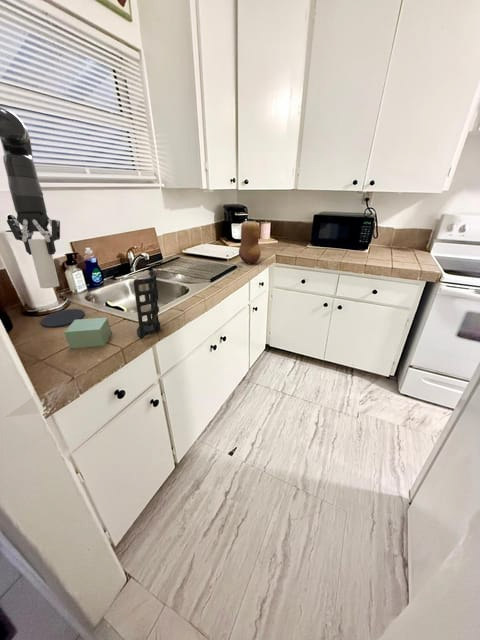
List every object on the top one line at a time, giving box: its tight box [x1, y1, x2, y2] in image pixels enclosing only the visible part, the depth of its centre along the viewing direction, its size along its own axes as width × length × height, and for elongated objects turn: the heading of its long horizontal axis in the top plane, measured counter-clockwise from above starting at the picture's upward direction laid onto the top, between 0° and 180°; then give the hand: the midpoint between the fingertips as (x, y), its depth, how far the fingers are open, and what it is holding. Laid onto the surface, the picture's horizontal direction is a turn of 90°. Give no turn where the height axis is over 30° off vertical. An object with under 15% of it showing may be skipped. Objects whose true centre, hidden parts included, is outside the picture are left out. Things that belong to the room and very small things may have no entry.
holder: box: [133, 270, 161, 339], centre depth 85 cm, size 11×8×20 cm
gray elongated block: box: [28, 238, 60, 289], centre depth 83 cm, size 5×14×14 cm
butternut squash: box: [238, 220, 262, 265], centre depth 158 cm, size 14×13×25 cm
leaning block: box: [63, 317, 113, 350], centre depth 82 cm, size 10×8×6 cm
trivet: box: [40, 308, 85, 329], centre depth 97 cm, size 14×14×1 cm
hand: (42, 254), depth 82 cm, fingers closed on gray elongated block, 5 cm apart
